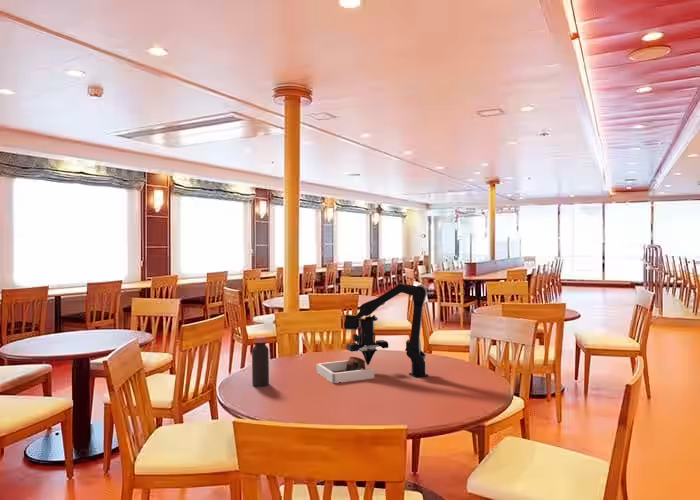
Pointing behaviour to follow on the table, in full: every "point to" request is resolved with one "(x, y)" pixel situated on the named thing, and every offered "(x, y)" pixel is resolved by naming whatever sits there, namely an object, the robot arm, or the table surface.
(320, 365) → the frame
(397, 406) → the table surface
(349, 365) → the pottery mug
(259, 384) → the bottle
